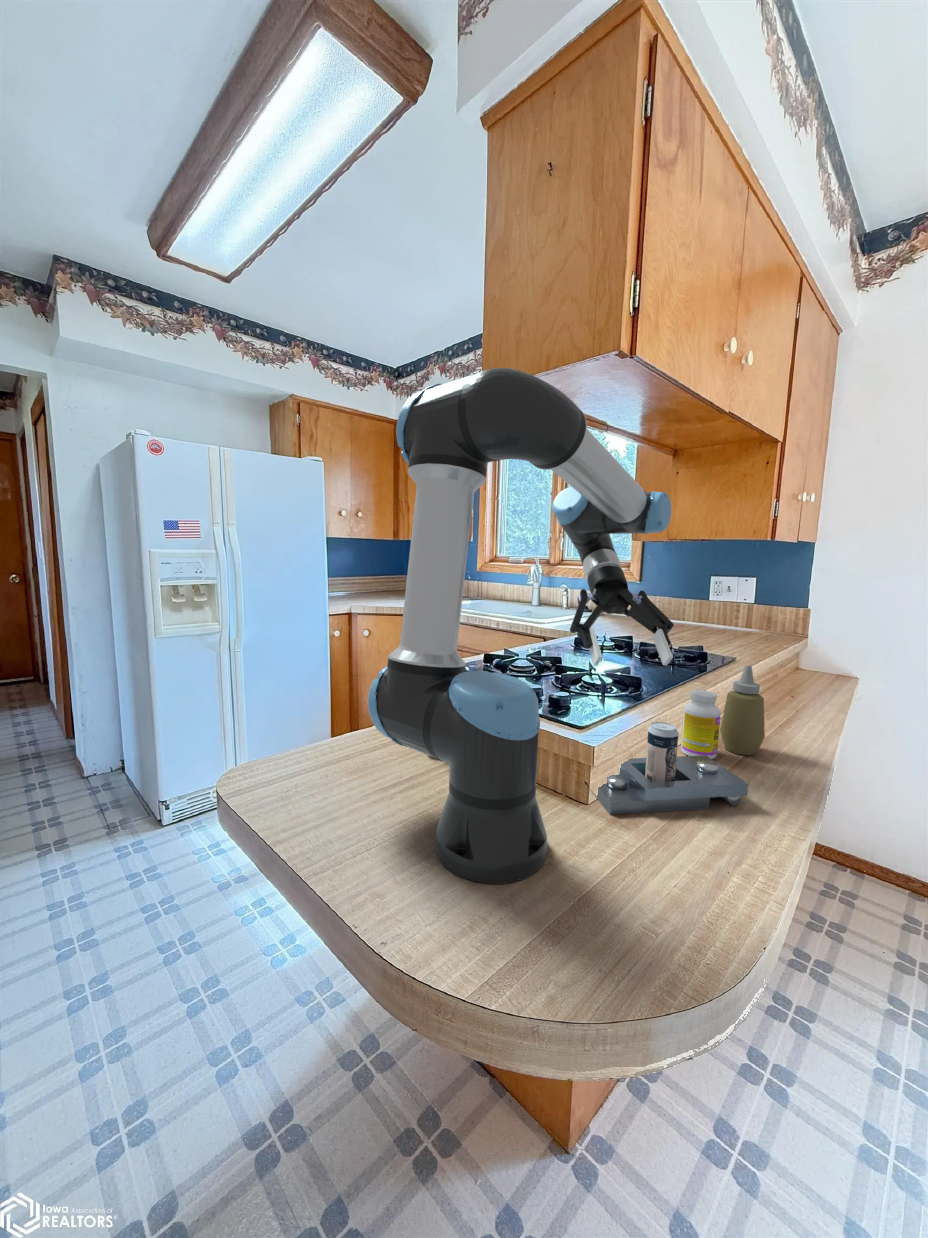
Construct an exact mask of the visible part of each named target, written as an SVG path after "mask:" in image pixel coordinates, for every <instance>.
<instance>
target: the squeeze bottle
mask: <svg viewBox="0 0 928 1238" xmlns="http://www.w3.org/2000/svg"><path fill="white" fill-rule="evenodd" d="M732 689H733V690H731V691H729V692H728V693H727V694H726V700H725V703H724V707H723V708H724V709H723V714H722V718H721V721H720V727H719V733H720V736H721V739H722V743H723V746H724V749H725V750H727V751H728V752H731V753H734V754H736V755H737V754H738V755H743V756H754V755H756V754H757V753H758V751H759V749H760V747H761V745H762V743H763V741H764V739H765V738H766V737H765V736H766V735H765V730H766V729H765V698H764V697H763V696H762V695H761V694H760V689H761V685H760V684H759V683H757V682H755V679H754V674H753V667H752V665H744V668H743V669H742V673H741V676H740V678H739V680H735V681H734V682H733V687H732Z"/></svg>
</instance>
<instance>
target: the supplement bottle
mask: <svg viewBox="0 0 928 1238" xmlns="http://www.w3.org/2000/svg"><path fill="white" fill-rule="evenodd" d="M717 696H718V694H716V693H715V692H712V691H710V690H703V689H693V690H691V691H690V696H689V697H690V700H691V701H689V702H688V703H686V704H685V705H686V706H685V705H684V707H685V708H684V709H683V721H682V722H683V723H682V733H681V734H682V735H681V744H680V749H681V752H682V753H683V754H684V755H685V756H687V755H688V756H705V755H706V756H708V757H709V758H711V759H712V760H714V759H715V758H716V757H717V756H718V748H719V737H720V727H721V714H722V713H721V710H720V708H719V707H718V706H717V705H716V702H717V698H718V697H717Z"/></svg>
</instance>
